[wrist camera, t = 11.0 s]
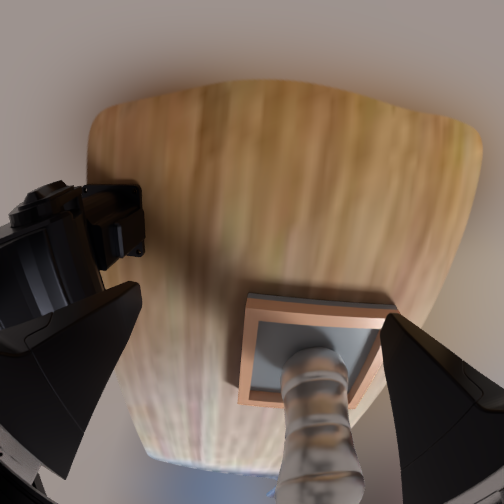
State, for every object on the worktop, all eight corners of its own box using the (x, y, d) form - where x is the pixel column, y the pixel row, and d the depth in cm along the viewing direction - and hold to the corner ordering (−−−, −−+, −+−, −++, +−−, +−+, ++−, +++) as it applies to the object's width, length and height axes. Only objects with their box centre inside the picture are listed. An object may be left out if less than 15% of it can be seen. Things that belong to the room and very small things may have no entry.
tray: (239, 389, 30) (237, 404, 28) (248, 292, 24) (245, 307, 22) (352, 395, 29) (355, 408, 27) (395, 305, 23) (403, 319, 21)
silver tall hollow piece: (352, 365, 26) (380, 541, 8) (296, 386, 28) (295, 554, 10) (329, 328, 24) (359, 547, 6) (267, 354, 26) (249, 554, 8)
